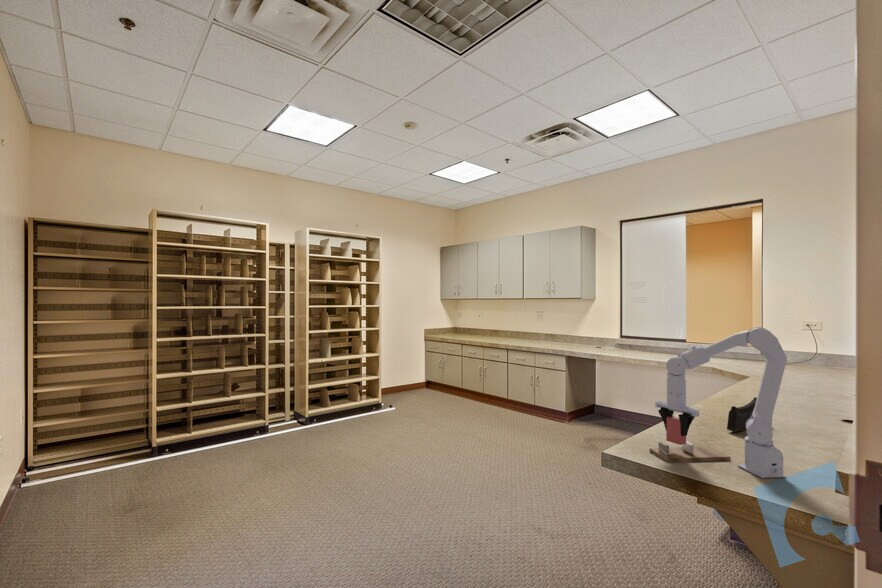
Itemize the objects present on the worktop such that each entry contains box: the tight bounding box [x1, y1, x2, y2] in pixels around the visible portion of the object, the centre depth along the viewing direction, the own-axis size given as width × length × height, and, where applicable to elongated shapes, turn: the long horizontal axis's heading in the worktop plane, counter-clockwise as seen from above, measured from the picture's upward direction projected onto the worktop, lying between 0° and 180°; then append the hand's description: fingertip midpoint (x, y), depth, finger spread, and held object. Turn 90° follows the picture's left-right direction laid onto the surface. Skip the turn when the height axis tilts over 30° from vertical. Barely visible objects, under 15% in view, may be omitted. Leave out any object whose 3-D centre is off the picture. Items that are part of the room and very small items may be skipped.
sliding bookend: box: [681, 440, 695, 454], centre depth 146 cm, size 1×4×3 cm, turn 6°
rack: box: [649, 441, 732, 463], centre depth 146 cm, size 22×10×4 cm, turn 95°
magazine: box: [726, 397, 757, 432], centre depth 180 cm, size 17×3×30 cm
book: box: [665, 415, 687, 446], centre depth 145 cm, size 5×3×8 cm, turn 27°
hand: (676, 433), depth 145 cm, fingers closed on book, 5 cm apart
